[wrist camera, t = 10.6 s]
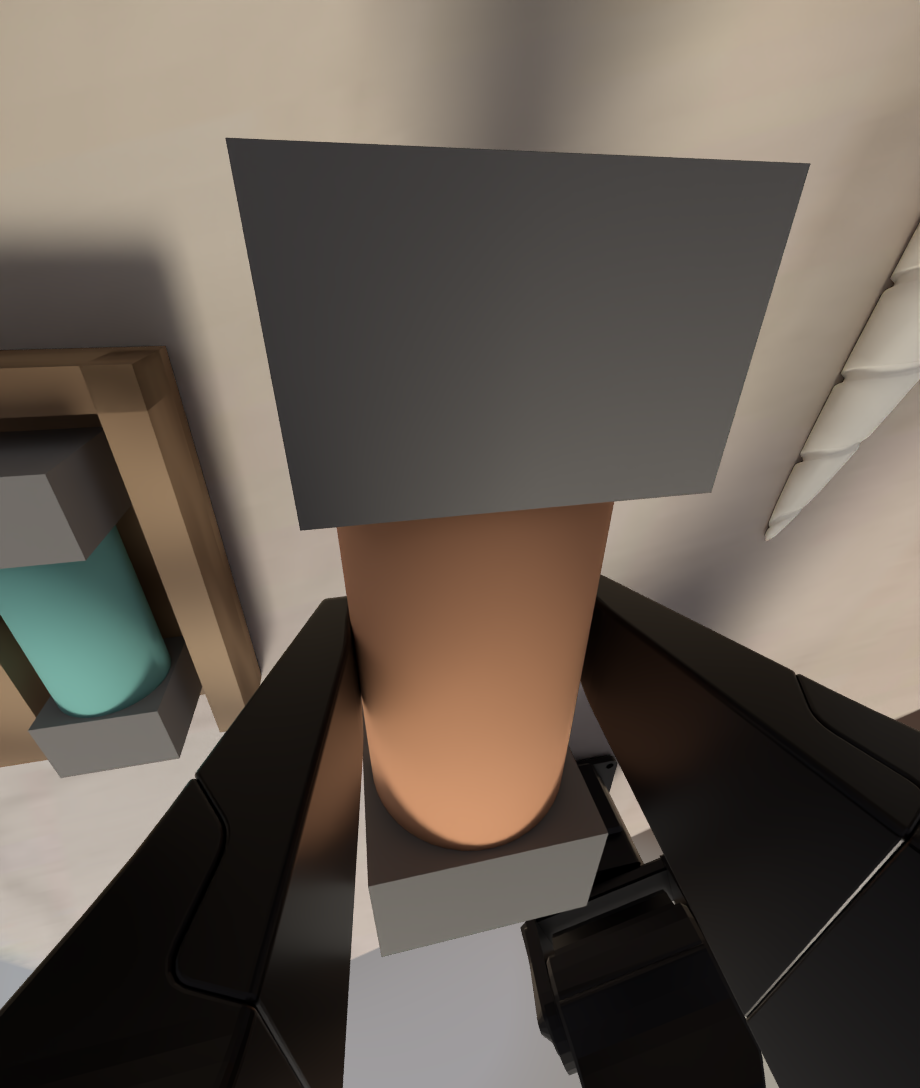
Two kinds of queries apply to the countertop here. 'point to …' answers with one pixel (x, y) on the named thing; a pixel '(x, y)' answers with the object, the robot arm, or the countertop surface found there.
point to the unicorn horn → (861, 389)
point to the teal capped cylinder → (86, 608)
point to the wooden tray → (134, 519)
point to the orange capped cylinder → (493, 459)
